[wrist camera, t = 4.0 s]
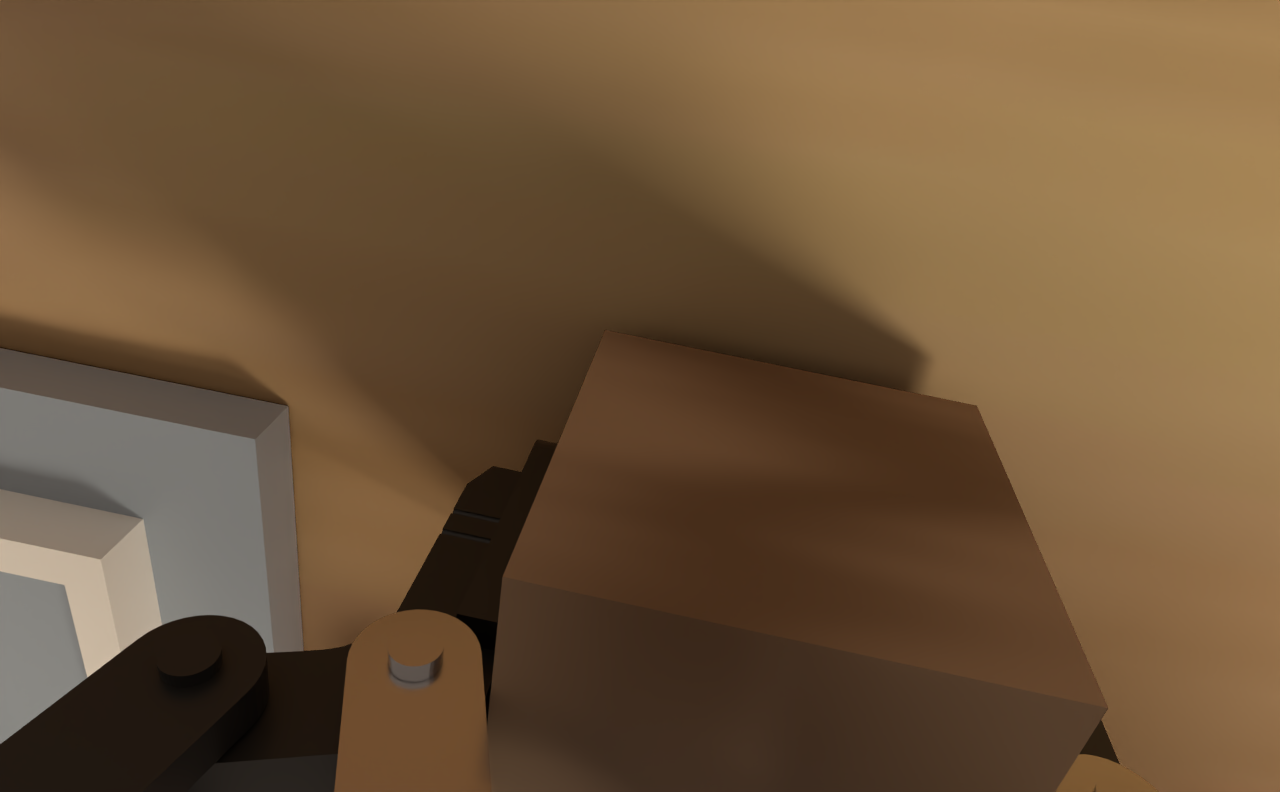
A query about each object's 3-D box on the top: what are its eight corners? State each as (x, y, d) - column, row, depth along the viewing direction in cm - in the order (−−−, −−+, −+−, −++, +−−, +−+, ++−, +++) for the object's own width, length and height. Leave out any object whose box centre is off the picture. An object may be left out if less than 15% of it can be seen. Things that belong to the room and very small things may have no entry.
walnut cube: (976, 405, 11) (1108, 708, 7) (866, 670, 14) (912, 1017, 9) (604, 329, 11) (503, 576, 7) (562, 604, 14) (467, 913, 9)
